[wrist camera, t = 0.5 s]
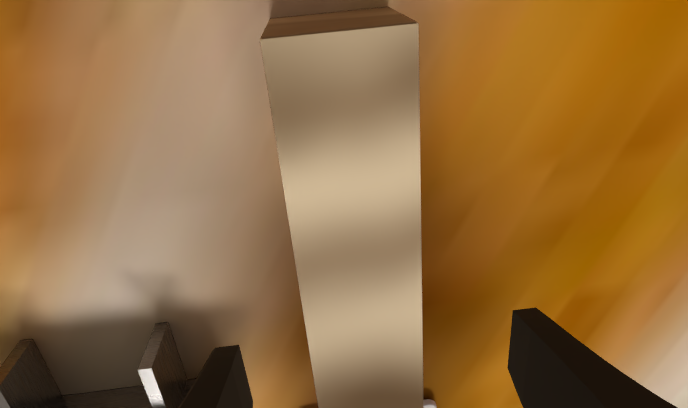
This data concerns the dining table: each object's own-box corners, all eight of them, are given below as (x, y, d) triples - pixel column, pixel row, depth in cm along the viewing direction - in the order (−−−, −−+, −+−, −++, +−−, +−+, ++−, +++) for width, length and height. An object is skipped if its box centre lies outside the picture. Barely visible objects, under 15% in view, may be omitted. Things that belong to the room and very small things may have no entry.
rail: (401, 332, 25) (423, 411, 21) (317, 343, 25) (321, 425, 21) (388, 6, 18) (418, 21, 13) (269, 18, 18) (259, 37, 13)
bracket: (234, 382, 26) (220, 469, 21) (8, 411, 25) (-53, 506, 21) (216, 316, 24) (197, 398, 19) (-31, 346, 23) (-108, 437, 19)
